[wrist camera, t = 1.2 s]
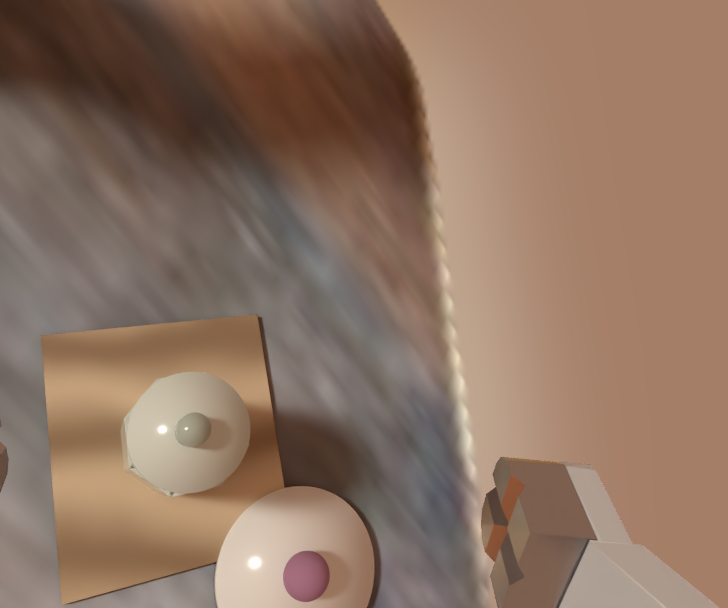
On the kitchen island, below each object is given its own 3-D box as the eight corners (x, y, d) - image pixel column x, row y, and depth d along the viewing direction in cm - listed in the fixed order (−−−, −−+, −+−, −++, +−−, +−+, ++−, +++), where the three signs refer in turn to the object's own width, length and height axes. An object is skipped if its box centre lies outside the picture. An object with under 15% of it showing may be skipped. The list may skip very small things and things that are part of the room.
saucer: (203, 506, 38) (204, 507, 37) (354, 471, 42) (358, 471, 42) (226, 690, 35) (229, 694, 35) (383, 630, 40) (388, 633, 39)
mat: (41, 336, 37) (41, 335, 36) (255, 315, 43) (257, 314, 42) (62, 603, 33) (61, 605, 33) (291, 540, 39) (293, 540, 39)
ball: (274, 555, 38) (286, 560, 35) (316, 542, 39) (331, 547, 36) (281, 603, 37) (294, 613, 35) (324, 589, 38) (340, 597, 36)
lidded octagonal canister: (117, 403, 37) (121, 376, 27) (211, 389, 39) (246, 360, 30) (127, 499, 36) (134, 507, 26) (223, 478, 38) (264, 478, 28)
